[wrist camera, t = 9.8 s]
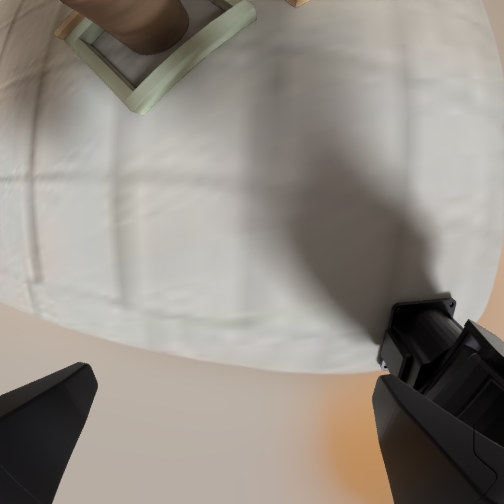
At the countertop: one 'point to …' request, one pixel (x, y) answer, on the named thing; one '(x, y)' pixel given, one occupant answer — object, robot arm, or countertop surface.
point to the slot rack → (168, 72)
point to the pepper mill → (137, 21)
